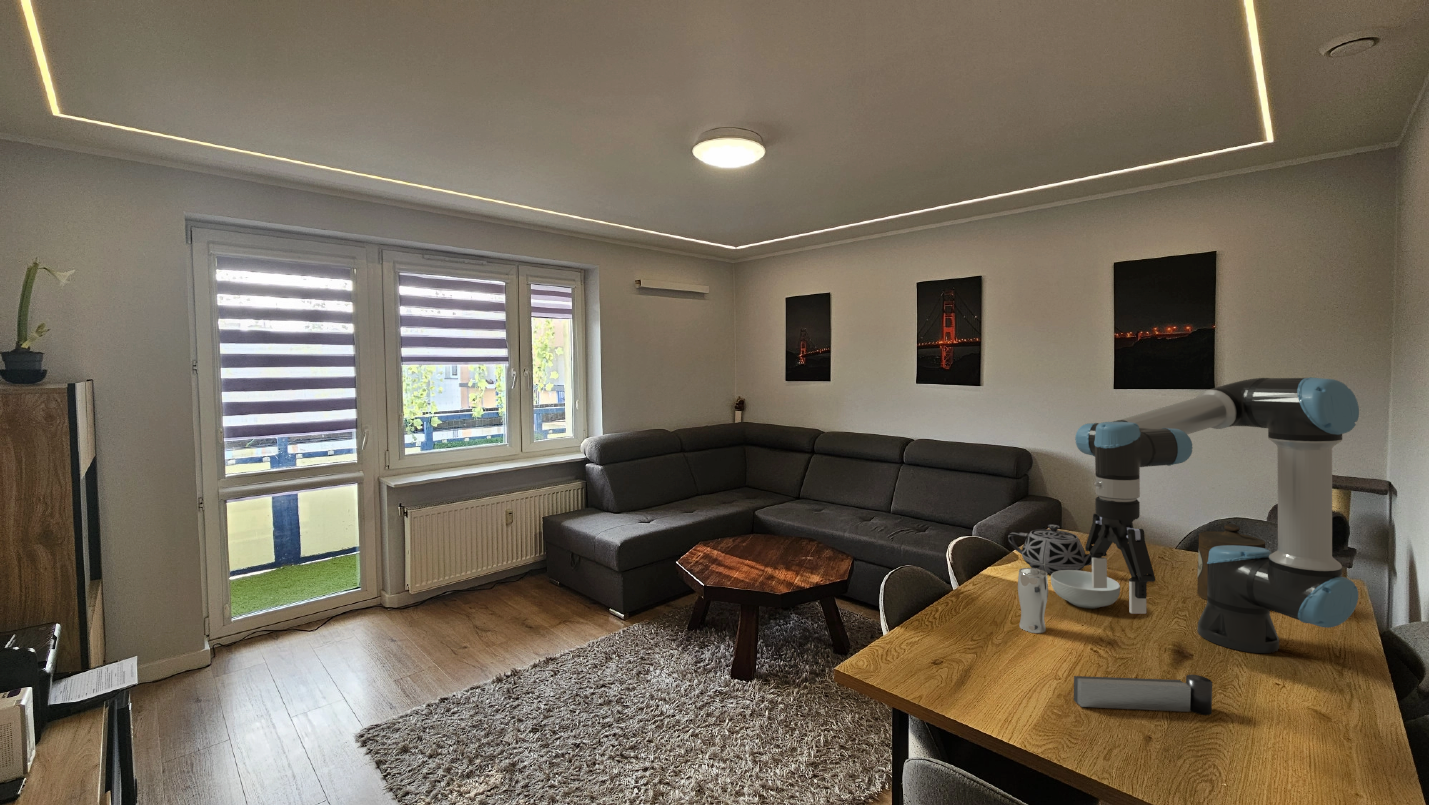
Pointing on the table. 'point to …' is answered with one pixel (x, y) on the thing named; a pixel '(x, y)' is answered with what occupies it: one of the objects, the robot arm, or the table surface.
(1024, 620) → the beer glass
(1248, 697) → the table surface
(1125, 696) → the bar
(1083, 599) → the cereal bowl
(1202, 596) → the brown lidded jar
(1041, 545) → the teapot
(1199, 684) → the blade
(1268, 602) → the robot arm
